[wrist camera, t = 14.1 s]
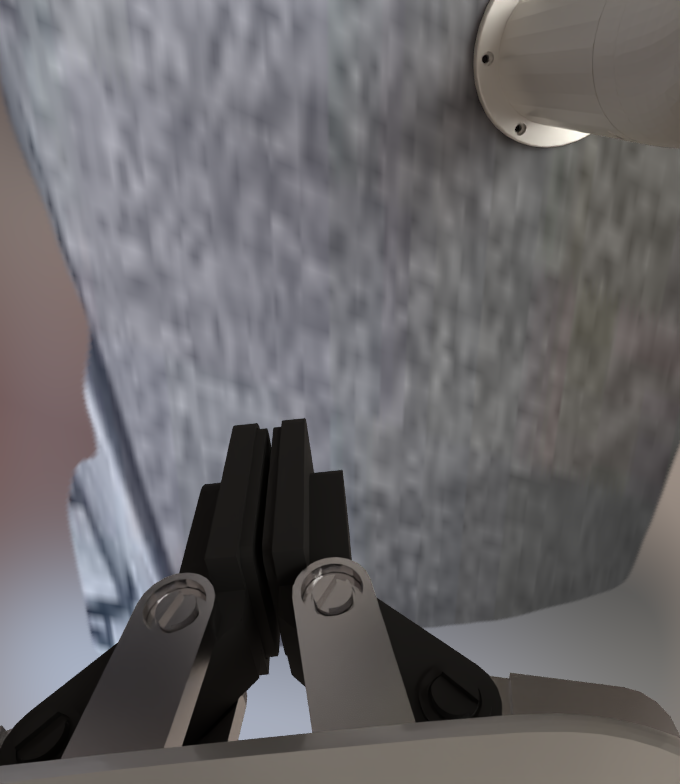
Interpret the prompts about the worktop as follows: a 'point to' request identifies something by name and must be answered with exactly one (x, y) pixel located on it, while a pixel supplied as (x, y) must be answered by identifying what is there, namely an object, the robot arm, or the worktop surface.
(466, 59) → the worktop surface
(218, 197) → the worktop surface
